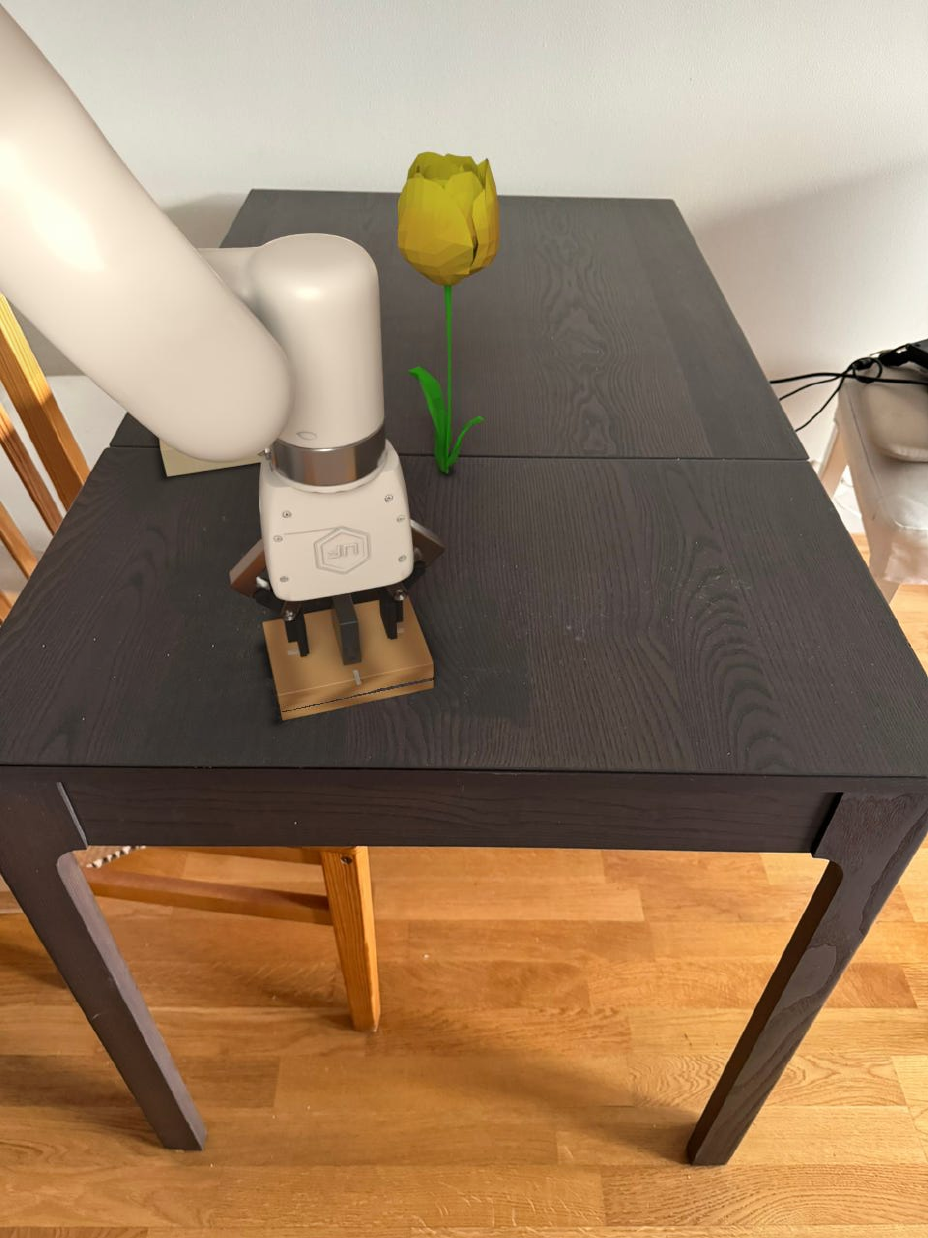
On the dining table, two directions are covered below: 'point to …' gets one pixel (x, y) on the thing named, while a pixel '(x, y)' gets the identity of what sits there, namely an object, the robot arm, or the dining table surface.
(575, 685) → the dining table surface
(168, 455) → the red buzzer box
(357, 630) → the black block
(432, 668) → the dial panel
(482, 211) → the flower
